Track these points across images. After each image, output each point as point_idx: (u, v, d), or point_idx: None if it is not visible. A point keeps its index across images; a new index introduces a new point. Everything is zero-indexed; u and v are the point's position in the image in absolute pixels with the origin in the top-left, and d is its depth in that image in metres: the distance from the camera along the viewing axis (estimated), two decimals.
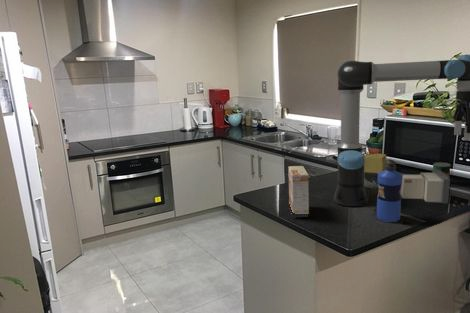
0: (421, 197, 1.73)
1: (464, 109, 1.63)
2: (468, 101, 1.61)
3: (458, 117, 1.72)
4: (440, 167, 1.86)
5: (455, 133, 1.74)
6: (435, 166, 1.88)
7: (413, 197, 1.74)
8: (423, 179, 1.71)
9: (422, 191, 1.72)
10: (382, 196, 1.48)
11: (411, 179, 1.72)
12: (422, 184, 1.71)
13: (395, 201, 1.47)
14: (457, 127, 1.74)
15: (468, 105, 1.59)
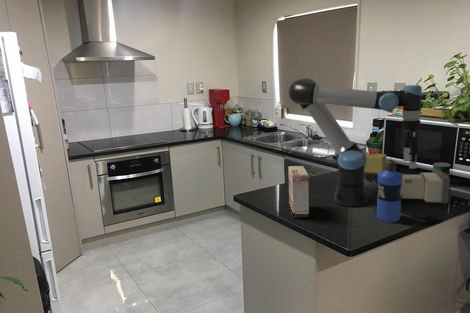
0: (421, 197, 1.73)
1: (409, 138, 1.68)
2: (412, 130, 1.66)
3: (406, 144, 1.77)
4: (440, 167, 1.86)
5: (404, 159, 1.80)
6: (435, 166, 1.88)
7: (413, 197, 1.74)
8: (423, 179, 1.71)
9: (422, 191, 1.72)
10: (382, 196, 1.48)
11: (411, 179, 1.72)
12: (422, 184, 1.71)
13: (395, 201, 1.47)
14: (406, 154, 1.79)
15: (411, 135, 1.64)
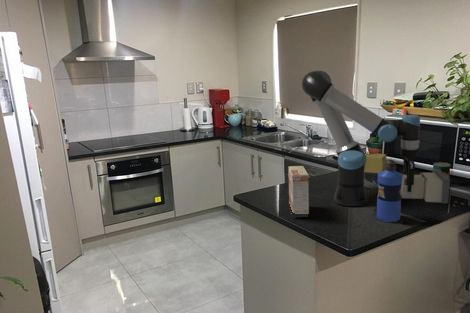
0: (421, 197, 1.73)
1: None
2: (410, 159, 1.69)
3: None
4: (440, 167, 1.86)
5: None
6: (435, 166, 1.88)
7: (413, 197, 1.74)
8: (423, 179, 1.71)
9: (422, 191, 1.72)
10: (382, 196, 1.48)
11: None
12: (422, 184, 1.71)
13: (395, 201, 1.47)
14: None
15: (409, 167, 1.68)
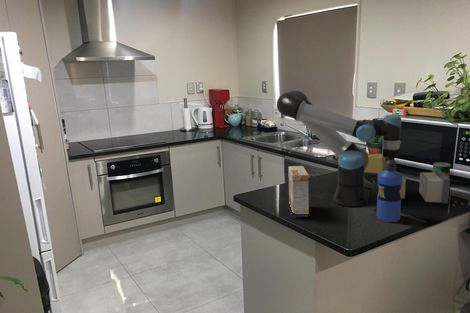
0: (402, 196, 1.75)
1: None
2: (392, 159, 1.71)
3: None
4: (440, 167, 1.86)
5: None
6: (435, 166, 1.88)
7: None
8: (404, 179, 1.73)
9: (403, 191, 1.74)
10: (382, 196, 1.48)
11: None
12: (403, 184, 1.73)
13: (395, 201, 1.47)
14: None
15: None
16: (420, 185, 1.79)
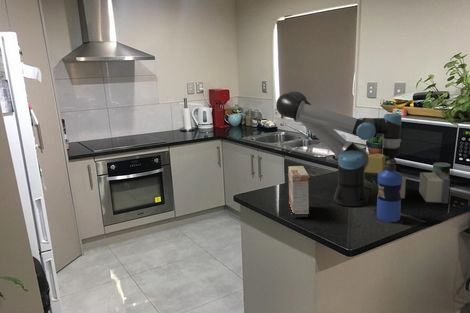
0: (402, 196, 1.75)
1: None
2: (391, 158, 1.71)
3: None
4: (440, 167, 1.86)
5: None
6: (435, 166, 1.88)
7: None
8: (404, 179, 1.73)
9: (403, 191, 1.74)
10: (382, 196, 1.48)
11: None
12: (403, 184, 1.73)
13: (395, 201, 1.47)
14: None
15: None
16: (420, 185, 1.79)
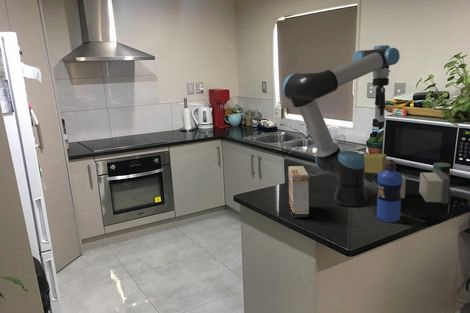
0: (402, 196, 1.75)
1: (378, 94, 1.84)
2: (381, 87, 1.82)
3: (377, 102, 1.93)
4: (440, 167, 1.86)
5: (375, 116, 1.95)
6: (435, 166, 1.88)
7: None
8: (404, 179, 1.73)
9: (403, 191, 1.74)
10: (382, 196, 1.48)
11: None
12: (403, 184, 1.73)
13: (395, 201, 1.47)
14: (377, 111, 1.94)
15: (380, 90, 1.79)
16: (420, 185, 1.79)
